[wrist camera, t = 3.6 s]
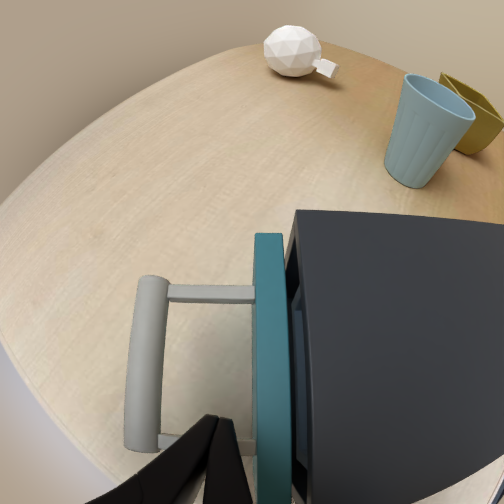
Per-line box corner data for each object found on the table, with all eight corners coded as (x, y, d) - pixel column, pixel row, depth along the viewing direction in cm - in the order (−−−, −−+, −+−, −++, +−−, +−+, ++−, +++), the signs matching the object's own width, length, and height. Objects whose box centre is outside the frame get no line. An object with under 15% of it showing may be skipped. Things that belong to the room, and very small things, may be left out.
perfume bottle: (244, 65, 35) (314, 96, 33) (262, 13, 29) (339, 40, 27) (271, 66, 41) (332, 94, 39) (288, 22, 35) (354, 49, 33)
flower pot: (464, 135, 33) (484, 94, 26) (480, 168, 29) (508, 124, 21) (422, 116, 34) (440, 71, 26) (434, 148, 30) (460, 95, 22)
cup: (443, 202, 25) (489, 129, 16) (383, 190, 25) (423, 101, 16) (423, 156, 29) (454, 88, 20) (369, 143, 29) (394, 66, 20)
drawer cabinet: (280, 474, 13) (310, 530, 5) (276, 292, 20) (295, 208, 12) (463, 429, 13) (550, 416, 6) (443, 285, 20) (509, 224, 12)
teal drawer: (169, 464, 12) (120, 497, 6) (178, 293, 18) (144, 229, 12) (444, 433, 13) (520, 427, 6) (426, 289, 19) (484, 236, 12)
